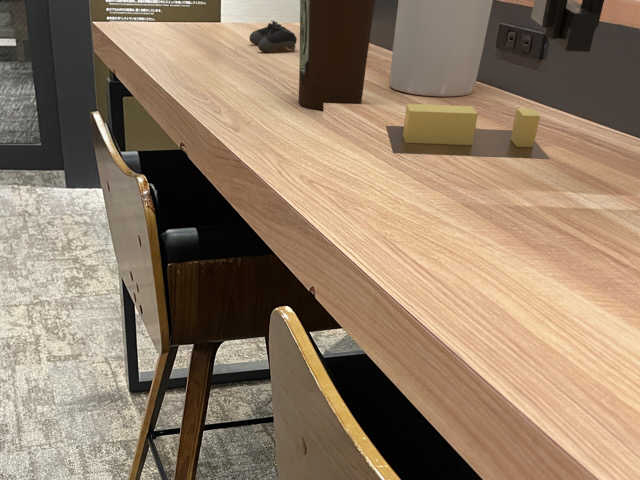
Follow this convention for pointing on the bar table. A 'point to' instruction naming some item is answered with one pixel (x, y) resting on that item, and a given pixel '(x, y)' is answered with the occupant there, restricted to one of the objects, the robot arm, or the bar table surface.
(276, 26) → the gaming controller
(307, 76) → the olive oil
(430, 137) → the butter block
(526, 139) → the butter slice
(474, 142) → the cutting board
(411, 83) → the utensil holder
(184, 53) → the bar table surface
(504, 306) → the bar table surface
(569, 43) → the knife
